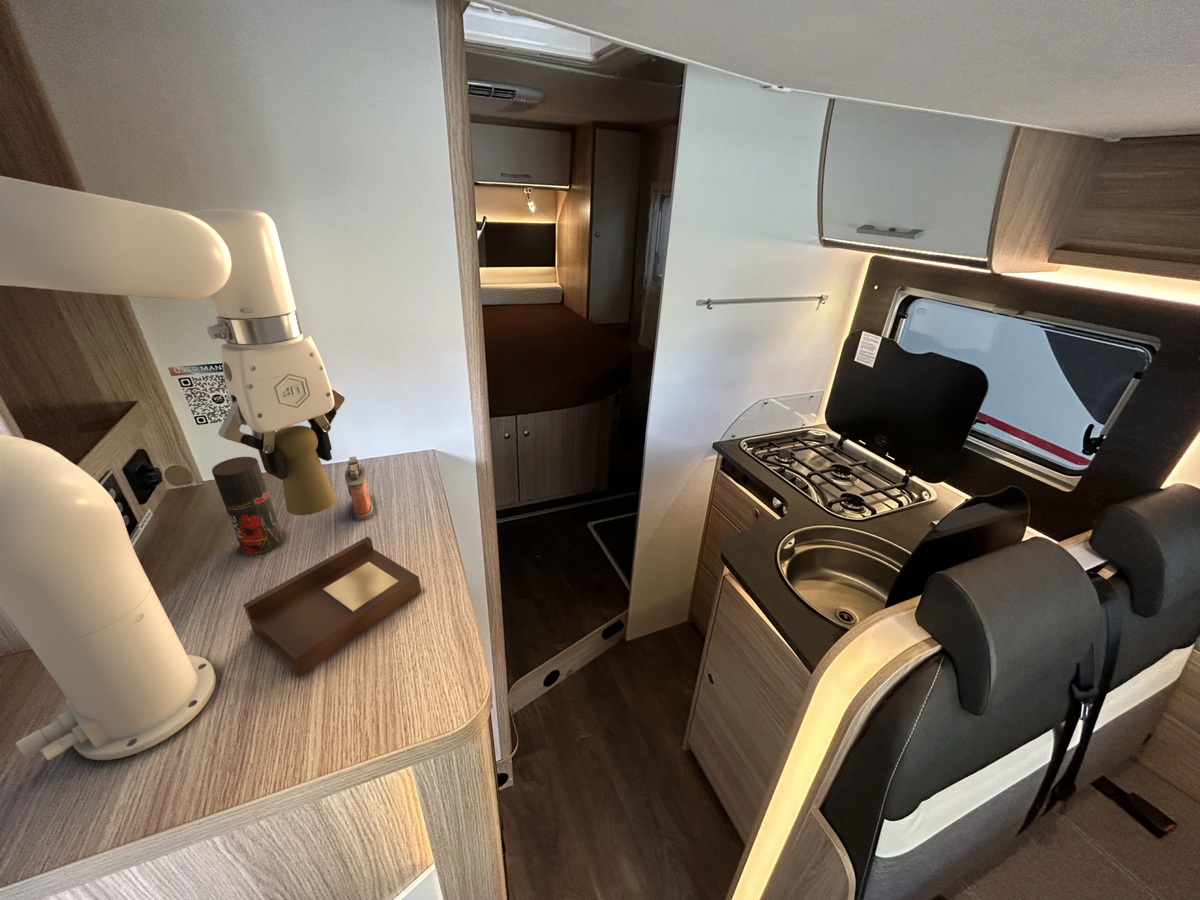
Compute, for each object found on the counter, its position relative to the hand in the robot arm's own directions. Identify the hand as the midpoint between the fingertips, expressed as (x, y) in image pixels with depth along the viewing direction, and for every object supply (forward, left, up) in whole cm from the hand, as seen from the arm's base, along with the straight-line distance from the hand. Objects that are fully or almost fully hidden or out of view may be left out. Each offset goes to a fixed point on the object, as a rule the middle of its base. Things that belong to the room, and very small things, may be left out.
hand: (301, 465), depth 65 cm
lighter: (+15, +16, -22) cm, 31 cm away
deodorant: (-1, +20, -21) cm, 29 cm away
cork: (0, 0, -6) cm, 6 cm away
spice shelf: (-2, -5, -21) cm, 22 cm away
